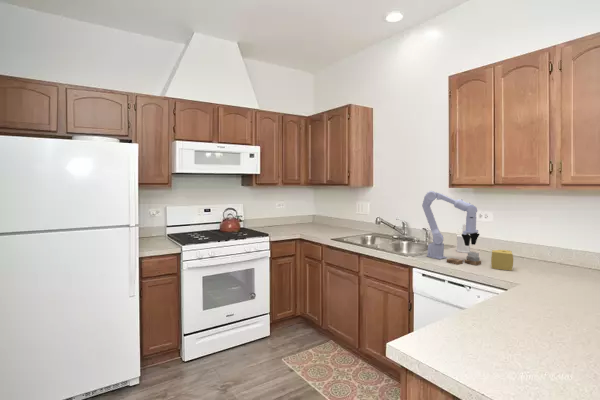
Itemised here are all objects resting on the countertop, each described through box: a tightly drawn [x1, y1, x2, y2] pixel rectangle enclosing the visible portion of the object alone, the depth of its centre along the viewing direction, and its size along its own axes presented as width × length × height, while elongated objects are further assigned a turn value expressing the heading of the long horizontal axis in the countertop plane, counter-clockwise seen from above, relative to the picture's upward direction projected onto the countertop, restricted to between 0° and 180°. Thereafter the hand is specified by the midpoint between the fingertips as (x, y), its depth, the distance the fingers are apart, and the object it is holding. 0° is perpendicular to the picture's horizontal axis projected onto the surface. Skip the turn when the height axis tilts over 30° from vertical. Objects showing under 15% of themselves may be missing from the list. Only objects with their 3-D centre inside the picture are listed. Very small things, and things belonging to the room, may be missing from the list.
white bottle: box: [455, 223, 471, 254], centre depth 236 cm, size 10×9×20 cm
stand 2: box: [464, 258, 482, 266], centre depth 201 cm, size 7×6×2 cm
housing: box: [466, 251, 481, 262], centre depth 201 cm, size 6×4×5 cm, turn 34°
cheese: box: [490, 249, 514, 272], centre depth 192 cm, size 10×11×10 cm
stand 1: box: [445, 257, 464, 266], centre depth 202 cm, size 7×6×2 cm
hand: (470, 245), depth 209 cm, fingers open, 7 cm apart
